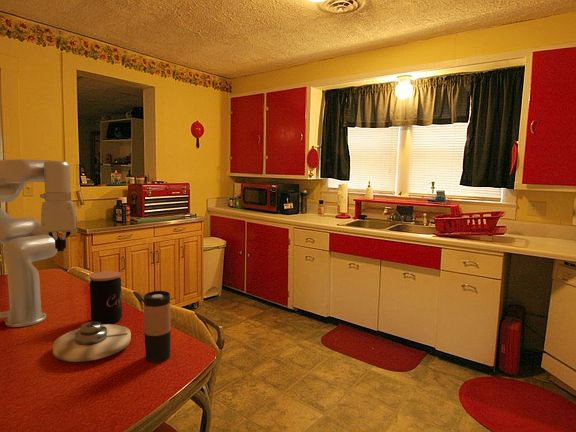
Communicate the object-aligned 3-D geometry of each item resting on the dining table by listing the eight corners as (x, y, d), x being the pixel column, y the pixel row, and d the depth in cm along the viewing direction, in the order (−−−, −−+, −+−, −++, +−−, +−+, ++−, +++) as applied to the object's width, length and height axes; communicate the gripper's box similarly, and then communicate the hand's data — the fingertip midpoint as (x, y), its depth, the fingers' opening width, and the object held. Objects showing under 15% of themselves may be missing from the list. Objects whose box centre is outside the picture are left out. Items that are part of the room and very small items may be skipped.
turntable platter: (45, 366, 105) (44, 359, 105) (60, 334, 125) (60, 328, 125) (130, 354, 113) (129, 348, 113) (131, 326, 134) (131, 320, 133)
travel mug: (149, 351, 119) (147, 290, 117) (173, 351, 120) (172, 290, 117) (141, 363, 111) (140, 298, 109) (167, 363, 112) (167, 298, 110)
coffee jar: (110, 327, 136) (108, 279, 134) (84, 324, 138) (82, 277, 136) (128, 316, 147) (126, 272, 145) (104, 314, 149) (102, 270, 147)
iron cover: (72, 347, 113) (71, 332, 112) (78, 334, 122) (78, 321, 121) (104, 343, 116) (104, 329, 115) (109, 331, 124) (108, 318, 124)
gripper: (29, 198, 121) (32, 254, 123) (81, 198, 126) (83, 251, 128) (35, 196, 127) (38, 249, 130) (84, 196, 133) (86, 247, 135)
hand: (60, 250), depth 129 cm, fingers closed
